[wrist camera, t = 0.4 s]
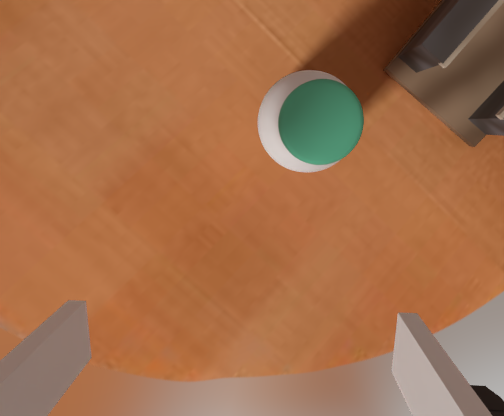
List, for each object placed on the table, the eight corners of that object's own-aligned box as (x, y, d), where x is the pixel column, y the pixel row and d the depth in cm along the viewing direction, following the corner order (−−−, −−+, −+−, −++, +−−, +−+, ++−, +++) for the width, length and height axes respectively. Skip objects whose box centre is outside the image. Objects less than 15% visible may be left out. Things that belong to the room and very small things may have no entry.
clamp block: (383, 70, 38) (407, 58, 31) (472, -36, 35) (520, -74, 29) (469, 146, 39) (511, 151, 32) (561, 48, 37) (627, 32, 30)
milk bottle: (296, 174, 41) (317, 222, 21) (245, 122, 40) (219, 122, 20) (350, 122, 39) (426, 123, 20) (299, 67, 38) (326, 10, 19)
